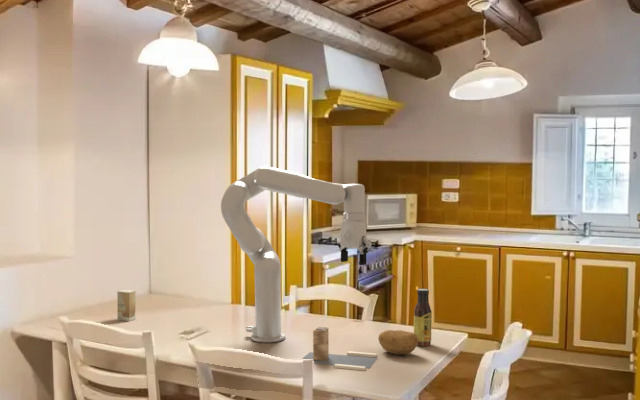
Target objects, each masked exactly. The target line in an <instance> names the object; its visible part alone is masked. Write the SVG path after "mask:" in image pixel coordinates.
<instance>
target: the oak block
mask: <svg viewBox="0 0 640 400" xmlns="http://www.w3.org/2000/svg"><path fill="white" fill-rule="evenodd" d="M312 336H313V337H312V338H313V339H312V344H313V345H312V347H313V348H312V350H313V351H312V352H313V360H322V361H325V360H326V359H327V358H328V357H329V354H330V353H329V351H330V350H329V349H330V348H329V347H330V346H329V344H330V343H329V327H323V326H316V327H315V328H314V329H312Z"/></svg>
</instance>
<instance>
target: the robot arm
mask: <svg viewBox="0 0 640 400" xmlns="http://www.w3.org/2000/svg"><path fill="white" fill-rule="evenodd" d="M365 188H366V187H365V185H364V184H361V183H347V184H343V183H337V182H330V181H325V180H321V179H317V178H316V179H315V178H312V177H310V176H306V175H304V174H301V173H298V172H293V171H289V170H284V169H279V168H277V167H271V166H269V165H268V166H267V165H263V166H259V167H257V169H255V170H253V171H252V172H250V173H248V174H247V175H244V176H243V177H241V178H240V179H238V180H236V181H234V182H232V183H231V184H230V185H229V186H227V189H226V190H225V191H224V194H223V196H222V198H221V201H220V212H221V215H222V219H223V220H224V222H225V224H226V225H227V227H228V228H229V230H230V231H231V233H232V235H233V237H234V238H235V240H236V241H237V243H238V245H239V247H240V249H241V250H242V251H243V252H244V253H246V255H247V256H248V258H249V259H250V261H251V262H252V264H253V265H254V268H253V269H254V303H255V304H254V309H255V311H254V313H255V317H254V318H255V321H254V323H255V325H254V326H252V325H246V327H245V331H246V332H247V333H252V334H251V340H252V341H255V342H256V343H257V342H258V343H265V344H267V343H277V342H281V341H282V342H283V341H284V340H285V339H286V334H285V333H284V332H282V294H281V293H282V290H281V289H282V288H281V287H282V285H281V284H282V282H281V279H282V276H281V275H282V272H281V271H282V267H281V266H282V265H281V260H280V257H279V255H278V254H277V252H276V251H275V249H274V248H273V246H272V244H271V243H270V242H269V239H267V238H268V237H266V235H265V233H264V232H263V231H262V230H261V229H260V228H258V227H256V225H255V224H254V222H253V220H252V218H251V217H250V215H249V214H248V212H247V210H246V203H247V201H249V200H250V199H253V198H254V197H256V196H259V194H261V193H264V192H265V191H268V192H273V193H278V194H282V195H288V196H292V197H295V198H299V199H300V198H302V199H308V200H312V201H317V202H320V203H321V202H322V203H326V204H329V205H336V206H337V205H340V204H342V203H343V215H342V217H343V220H342V222H341V227H340V233H339V237H337V238H336V243H337V246H338V248H339V251H340V262H341V263H344V262H348V261H349V251H348V249H355V250H356V249H358V251H359V253H360V254H358V255H359V257H358V265H359V266H363V265H364V266H365V265H367V255H368V253H369V251H370V250H371V247H372V245H373V243H372V242H371V241H370V240H369V239H368V238H367V237H368V236H367V227H366V220H365V197H366V195H365V194H366V193H365V191H366V190H365Z"/></svg>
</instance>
